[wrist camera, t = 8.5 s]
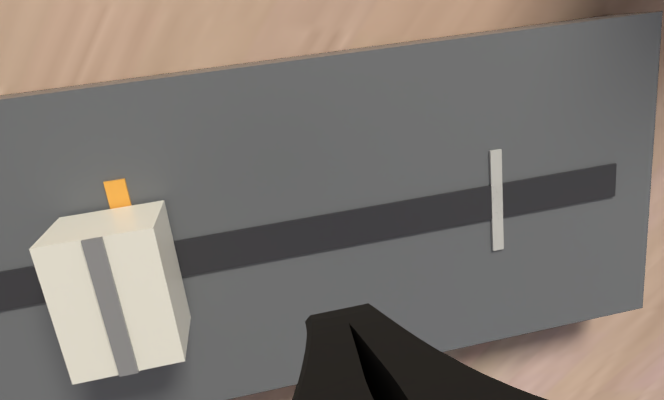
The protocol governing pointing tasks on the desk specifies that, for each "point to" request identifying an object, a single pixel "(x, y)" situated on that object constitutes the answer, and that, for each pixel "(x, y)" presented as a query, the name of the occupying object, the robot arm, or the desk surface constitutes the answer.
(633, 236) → the console
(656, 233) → the desk surface
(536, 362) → the desk surface
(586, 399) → the desk surface
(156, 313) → the fader cap
